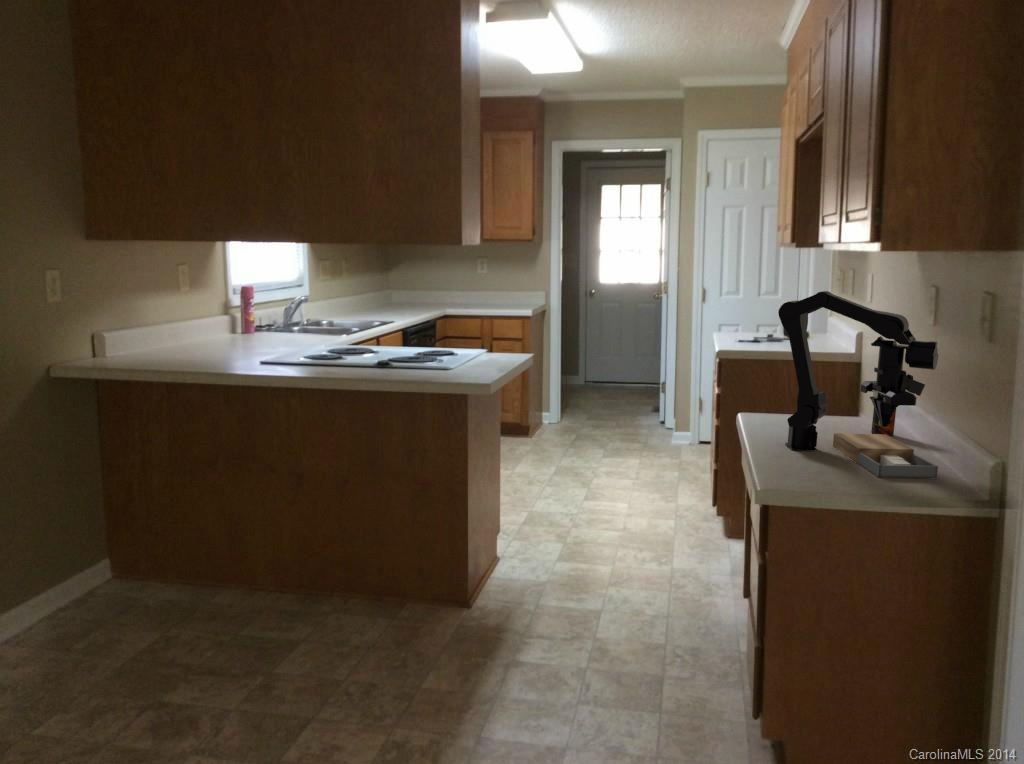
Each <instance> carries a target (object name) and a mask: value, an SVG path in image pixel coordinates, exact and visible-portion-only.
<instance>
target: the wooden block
mask: <svg viewBox="0 0 1024 764" xmlns="http://www.w3.org/2000/svg"><path fill="white" fill-rule="evenodd" d="M833 447H834V448H836V449H837V450H839V451H840V452H842V453H843V454H844V455H846V456H848V457H849V458H850V459H852V460H853V461H852V460H851V461H852V462H853V463H855V462H856V463H855V464H857V463H858V453H859V452H861V453H863V454H864V455H866V456H867V457H869V458H871V459H872V460H874V461H876V462H877V463H880V457H881V455H897V456H899V457H901V458H903V459H905V461H906V462H908V463H911V454H915V453H914V452H915V449H914V448H912V447H911V446H908V445H906V444H905V443H903V442H901V441H899V440H897V439H895V438H893V436H892V437H890V436H888V435H886V434H871V433H846V432H845V433H841V432H840V433H839V432H837V433H835V432H834V433H833V441H832V448H833ZM834 448H833V449H834ZM837 450H836V451H837ZM840 452H839V453H840ZM843 454H842V455H843ZM844 455H843V456H844ZM846 456H845V457H846ZM849 458H848V459H849ZM850 459H849V460H850Z"/></svg>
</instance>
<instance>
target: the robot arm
mask: <svg viewBox="0 0 1024 764" xmlns="http://www.w3.org/2000/svg"><path fill="white" fill-rule="evenodd" d="M823 308H824V309H826V310H829V311H831V312H834V313H836V314H839V315H841V316H844V317H846V318H849V319H851V320H854V321H856V322H860V323H862V324H864V325H865V326H867V327H869V328H870V329H871V330H872V331H874V332H875V333H877V334H879V335H880V336H878V337H877V339H875V340H874V341H873V342H871V343H870V345H871V346H872V347H879V349H878V350H879V351H878V360H877V367H874V368H873V372H874V373H876V380H864V381H863V382H862V383H861V384H860V392H862V393H863V394H867V393H868V392H870V393H871V392H872V396H869V399H870V400H871V403H872V405H873V409H874V408H875V410H876V413H877V415H878V418H879V421H880V423H881V426H883V427H887V425H888V423H889V421H890V419H891V417H892V414H893V412H894V410H895V409H896V410H897V408H898V407H899V406H912V407H913V406H917V396H919V397H921V394H922V393H923V391H924V388H925V387H926V384H925V383H922V382H920V381H918V380H914V376H913V375H912V374H909V373H907V371H906V370H903V368H904V362H905V363H906V365H908V366H909V367H908V368H912V369H923V370H930V371H931V370H932V371H935V370H936V368H937V365H938V363H939V362H938V360H939V354H938V352H939V351H938V342H937V341H931V340H930V341H925V340H923V341H922V340H917V339H916V337H915V336H914V334H913V333H912V331H911V330H910V325H909V324H910V323H909V321H908V319H907V318H906V317H905V316H904V315H903V314H898V313H894V312H889V311H883V310H882V311H881V310H876V309H872V308H869V307H867V306H865V305H863V304H860V303H857V302H854V301H851V300H849V299H847V298H844V297H841V296H839V295H837V294H834V293H832V292H830V291H828V290H823V291H819V292H816V294H814V295H811V296H808V297H806V298H803V299H801V300H800V299H799V300H791V301H786V302H784V303H783V304H781V305H780V307H779V308H778V313H777V314H778V318H779V320H780V322H781V323H780V324H781V325H782V327H783V329H784V331H785V332H786V334H787V336H788V340H789V345H790V350H791V357H792V360H793V367H794V371H795V375H796V381H797V386H798V391H797V396H796V397H797V398H796V412H794V413H793V414H792V415H791V416H789V417H788V418H787V419H786V421H787V424H788V433H787V434H788V435H787V442H785V443H784V445H785V446H786V447H788V448H789V449H790V450H791V451H809V450H817V451H818V449H817V445H818V431H817V426H816V425H817V423H818V422H819V420H820V419H822V418H823V417H824V416H825V415H826V413H827V408H828V407H829V404H828V402H827V398H826V397H827V396H826V395H827V393H826V391H821V392H820V389H819V388H818V386H817V384H816V379H815V372H814V367H813V363H812V357H811V350H810V347H809V346H810V345H809V342H808V341H809V340H808V336H807V331H808V326H809V324H808V323H809V314H811V313H813V312H816V311H819V310H821V309H823ZM884 338H885V339H884ZM897 343H898V344H897Z"/></svg>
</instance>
